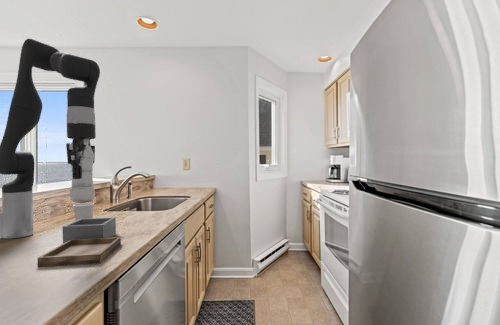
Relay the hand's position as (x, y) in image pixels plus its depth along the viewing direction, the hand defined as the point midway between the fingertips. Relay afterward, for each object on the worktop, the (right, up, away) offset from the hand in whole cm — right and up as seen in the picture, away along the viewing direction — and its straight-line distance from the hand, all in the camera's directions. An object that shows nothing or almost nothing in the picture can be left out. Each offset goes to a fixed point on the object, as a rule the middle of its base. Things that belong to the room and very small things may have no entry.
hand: (82, 177), depth 87 cm
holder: (-7, -23, +17) cm, 30 cm away
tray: (0, -23, 0) cm, 23 cm away
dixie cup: (-22, -24, +38) cm, 50 cm away
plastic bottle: (0, -8, 0) cm, 8 cm away
